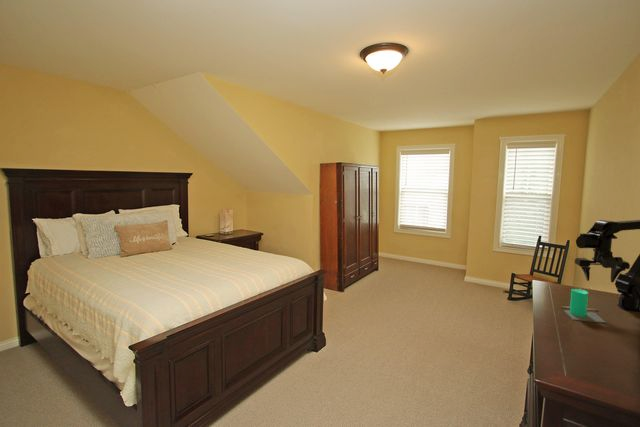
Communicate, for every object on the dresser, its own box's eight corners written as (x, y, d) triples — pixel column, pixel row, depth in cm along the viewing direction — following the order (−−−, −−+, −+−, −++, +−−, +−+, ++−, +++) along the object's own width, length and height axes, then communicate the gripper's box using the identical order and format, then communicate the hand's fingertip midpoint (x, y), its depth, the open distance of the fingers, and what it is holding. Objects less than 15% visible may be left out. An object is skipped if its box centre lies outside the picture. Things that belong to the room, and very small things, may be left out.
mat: (594, 313, 149) (594, 312, 149) (606, 323, 139) (606, 322, 139) (563, 310, 152) (563, 309, 152) (572, 319, 143) (572, 319, 143)
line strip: (596, 309, 153) (596, 308, 153) (598, 311, 151) (598, 310, 151) (561, 306, 157) (561, 305, 157) (562, 308, 155) (562, 307, 155)
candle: (570, 314, 147) (572, 288, 146) (568, 310, 152) (570, 284, 151) (587, 317, 144) (589, 290, 142) (585, 312, 149) (587, 286, 147)
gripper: (586, 250, 146) (583, 285, 148) (639, 253, 140) (635, 289, 142) (575, 245, 157) (573, 277, 158) (624, 247, 151) (620, 281, 153)
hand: (599, 281), depth 153 cm, fingers open, 9 cm apart
